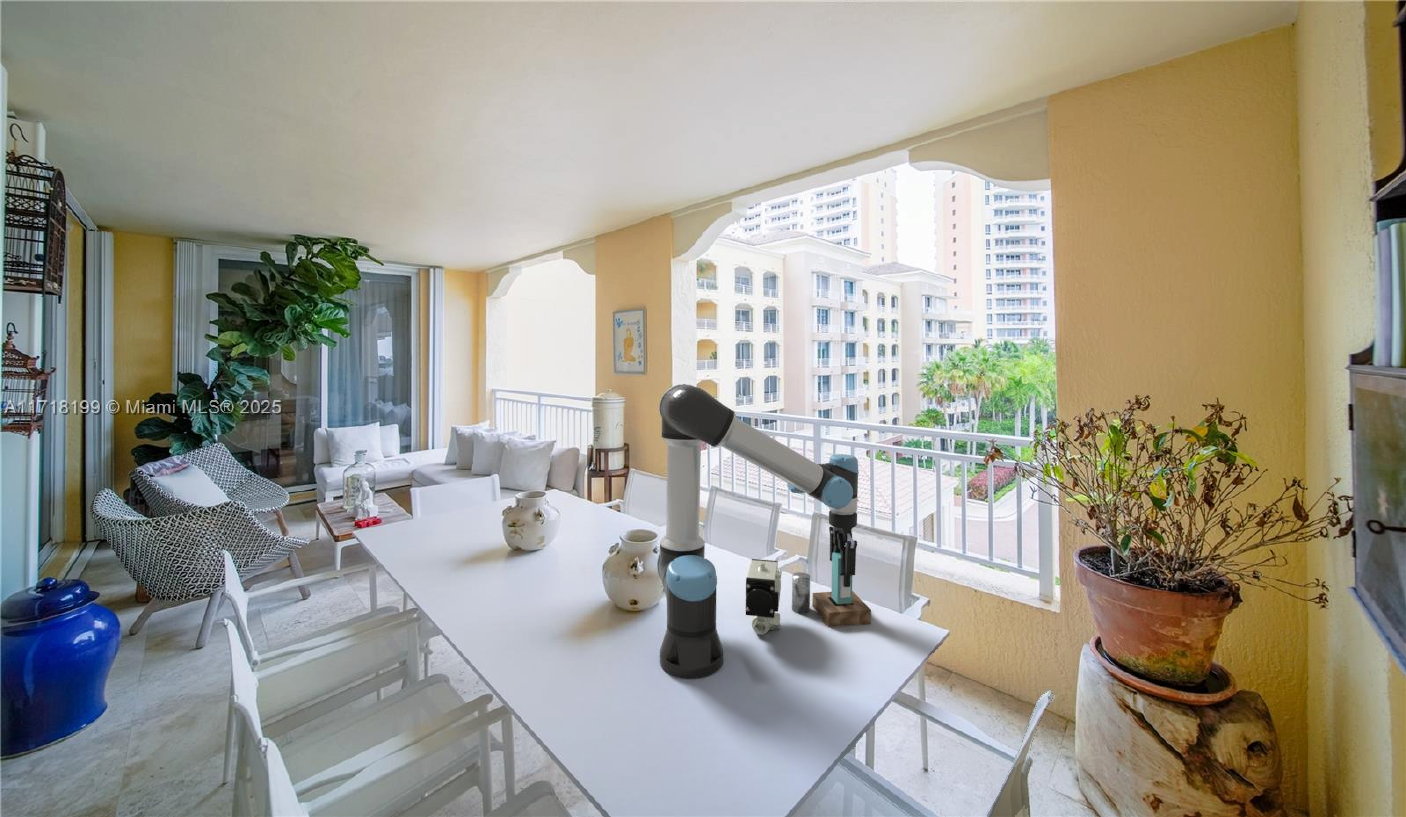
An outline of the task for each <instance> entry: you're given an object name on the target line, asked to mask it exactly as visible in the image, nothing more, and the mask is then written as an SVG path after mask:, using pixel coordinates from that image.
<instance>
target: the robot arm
mask: <svg viewBox="0 0 1406 817" xmlns="http://www.w3.org/2000/svg"><path fill="white" fill-rule="evenodd" d="M659 413H660V417H661V439H662V440H663V441H664V443H666V445H667V447H666V448H667V449H666V451H667V452H666V454H667V455H666V459H667V460H666V507H665V508H666V512H665V513H666V515H665V520H666V521H665V535H664V536H663V537H662V538H661V539H660V542H659V554H658V558H657V561H656V562H657V566H656V568H657V573H658V574H657V575H658V576H659V579H660V580H661V584H662V587H663V590H664V594H665V597H666V630H665V634H664V636H663V640H662V643H661V646H660V649H659V665H660V667H661V668H662V670H663V671H664V672H666V673H668V674H669V675H671V676H673V677H676V678H680V679H685V680H686V679H687V680H688V679H690V680H692V679H694V680H695V679H701V678H705V677H708V676H711V675H713V674H715V673H716V672H719V670H720V669H721V668H722V667H723V664H724V648H723V645H722V642H721V639H720V636H719V633H718V630H717V585H718V576H717V571H716V570H717V569H716V566H715V565H714V564H713V563H712V561H710V560H709V559H708V558H705V554H706V552H705V546H706V541H705V540H704V538H702V537H701V535H700V510H701V508H700V505H701V504H700V503H701V464H702V463H701V462H702V461H701V457H702V455H701V454H702V444H703V443H706V444H708V445H710V446H711V447H713V448H716V447H722V448H724V449H725V450H727V451H729V452H731V453H733V455H734V454H735V455H736V456H738V457H740V458H741V459H743V460H746V461H748V462H749V463H751V464H753V465H754V466H756V467H758V468H760V469H761V470H763V471H765V472H767V473H769V474H770V475H773V476H774V477H776V478H777V479H780V480H781V481H784V482H785V483H787V488H788V489H789V492H791V493H793V494H801V495H802V494H804V493H805V494H807V495H809V496H810V497H811V498H813V499H815V500H817V501H819V502H820V503H823V504H824V505H825V506H827V507H828V509H829V512H828V524H829V525H830V526H829V527H828V530H829V561H830V562H832V553H839V552H841V566H842V573H839V574H840V597H841V598H845V597H850V590H851V575H852V576H856V563H857V560H856V559H857V558H856V556H857V548H858V547H857V546H858V541H857V540H854V539H853V532H852V531H853V529H854V528H855V527H857V525H858V513H857V511H858V502H859V498H858V490H859V489H858V488H859V487H858V485H859V473H860V472H859V461H858V458H857V457H856V456H854V455H851V454H846V453H844V454H843V453H841V454H840V453H839V454H837V453H836V454H833V455H830V457H829V461H828V462H826V463H816V462H814V461H813V460H811V459H809V458H807V457H805V456H804V455H803V454H800V453H799V452H797V451H795V450H794V449H792V448H789V447H788V446H786V445H785V444H783V443H781V442H780V441H778V440H776V439H775V438H774V437H773V438H772V437H770V436H769V435H768V434H766V433H764V432H762V431H761V430H759V429H757V428H755V427H754V426H752V425H750V424H748V423H746V422H745V421H743V420H741V419H739V418H738V417H737V416H736V412H735V410H733V409H731V408H729V407H728V406H727V405H725V404H723V403H722V402H721V401H719V400H718V399H716V398H715V397H714V396H712V395H711V394H710V393H708V391H706V390H704V389H703V388H701V387H698V386H694V385H692V384H686V383H683V384H682V383H681V384H676V385H674V386H672V387H670V388H669V389H667V390H666V391H665V393H663V395H662V396H661V400H660V402H659Z"/></svg>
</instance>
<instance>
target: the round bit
mask: <svg viewBox="0 0 1406 817" xmlns="http://www.w3.org/2000/svg"><path fill="white" fill-rule="evenodd" d="M791 580H792V582H791V583H792V584H791V585H792V586H791V587H792V588H791V590H792V591H791V610H792V612H794V613H795V614H800V615H807V614H808V613H810V610H811V609H810V608H811V575H810V574H809V573H806V572H803V571H801V572H800V571H799V572H793V574H792V579H791Z"/></svg>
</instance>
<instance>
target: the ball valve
mask: <svg viewBox="0 0 1406 817" xmlns="http://www.w3.org/2000/svg"><path fill="white" fill-rule="evenodd" d="M778 564H779V561H778V560H769V559H756V558H752V559H751V561H750V564H749V568H748V572H747V575H746V578H745V616H750V617H751V616H752V617H753V618H752V622H751V626H752V629H753V630H754V633H755V634H756V635H760V636H761V635H762V636H764V635H765V634H766V633H768V632H769V631H775V630H779V629H780V627H781V626H780V625H781V614H780V613H779V606H780V599H781V590H782V572H783V571H782V569H779V568H778V567H779V566H778Z"/></svg>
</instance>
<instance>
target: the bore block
mask: <svg viewBox="0 0 1406 817" xmlns="http://www.w3.org/2000/svg"><path fill="white" fill-rule="evenodd" d="M811 602H812V605H811V606H812V608H813V609H814V611H815V612H816V613H817V614H818V615H819V617H820V618H821V620H822V622H824V624H825V625H826V626H827V627H828V628H834V627H835V628H836V627H837V628H838V627H847V626H848V627H849V626H859V625H863V626H864V625H871V622H872V621H871V620H872V619H871V618H872V610H871V608H870V607H869V606H868V605H867V603H865V602H864V601H863V600H862V599H861V598H860V597H859V596H858V595H857V594H856V593H855V592H854V590H852V603H846V604H837V603H836V602H835V601H834V600H833V599H832V597H831V591H823V592H812V600H811Z"/></svg>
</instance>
